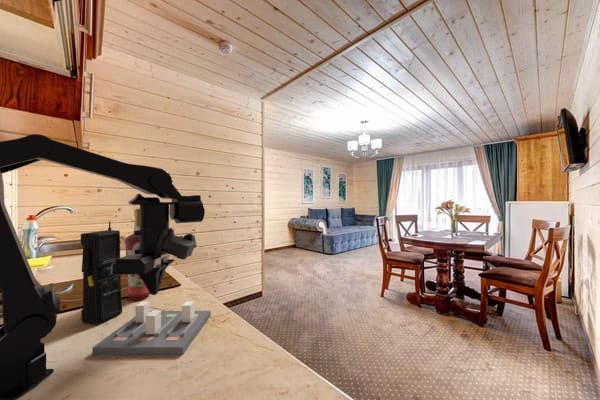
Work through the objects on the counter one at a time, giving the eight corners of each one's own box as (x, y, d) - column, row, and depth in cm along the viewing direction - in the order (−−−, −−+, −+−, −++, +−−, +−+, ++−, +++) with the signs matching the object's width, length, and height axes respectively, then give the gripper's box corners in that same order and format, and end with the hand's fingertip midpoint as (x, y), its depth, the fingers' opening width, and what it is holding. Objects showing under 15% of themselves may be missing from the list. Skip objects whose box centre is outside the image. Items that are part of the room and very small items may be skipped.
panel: (92, 355, 49) (92, 344, 49) (142, 316, 65) (142, 308, 65) (182, 354, 50) (182, 344, 50) (210, 316, 66) (210, 308, 65)
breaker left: (135, 322, 59) (135, 305, 59) (141, 317, 61) (141, 301, 61) (143, 322, 59) (143, 305, 59) (149, 317, 61) (149, 301, 61)
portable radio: (95, 327, 60) (94, 224, 59) (75, 325, 61) (75, 224, 61) (124, 312, 67) (124, 221, 67) (106, 310, 69) (106, 221, 68)
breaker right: (181, 322, 59) (181, 305, 59) (186, 317, 61) (186, 301, 61) (190, 322, 59) (190, 305, 59) (194, 317, 61) (194, 301, 61)
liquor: (125, 303, 73) (125, 209, 73) (125, 296, 79) (124, 208, 79) (154, 298, 77) (153, 209, 77) (151, 290, 83) (151, 208, 83)
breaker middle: (145, 334, 54) (145, 315, 54) (152, 328, 56) (152, 310, 56) (154, 334, 54) (154, 315, 54) (160, 328, 56) (160, 310, 56)
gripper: (170, 230, 46) (169, 313, 46) (205, 221, 65) (205, 280, 65) (109, 230, 46) (109, 313, 46) (162, 221, 64) (162, 280, 65)
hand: (154, 294), depth 55 cm, fingers closed
